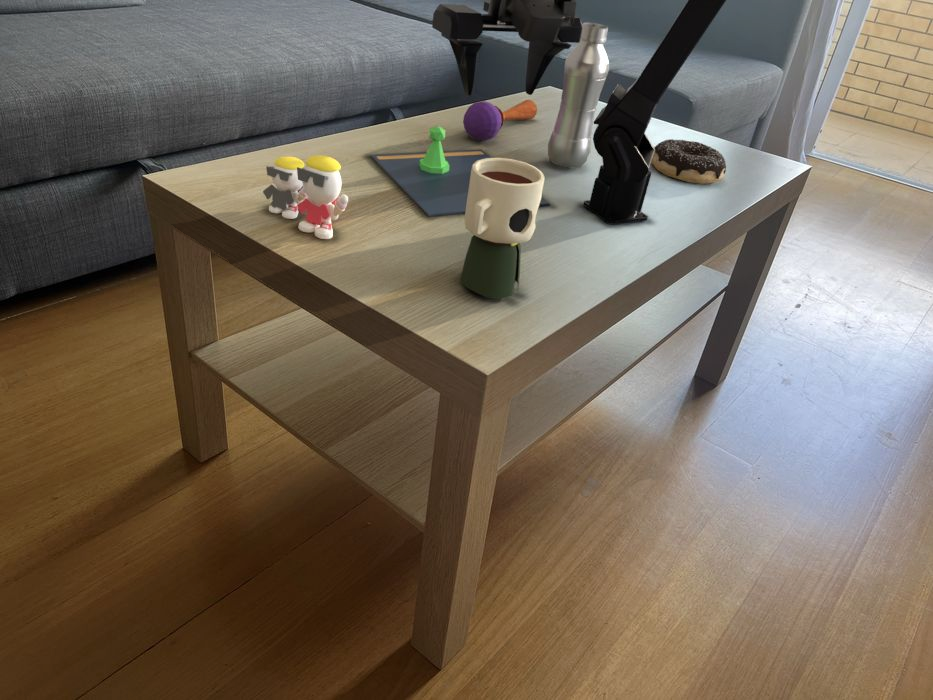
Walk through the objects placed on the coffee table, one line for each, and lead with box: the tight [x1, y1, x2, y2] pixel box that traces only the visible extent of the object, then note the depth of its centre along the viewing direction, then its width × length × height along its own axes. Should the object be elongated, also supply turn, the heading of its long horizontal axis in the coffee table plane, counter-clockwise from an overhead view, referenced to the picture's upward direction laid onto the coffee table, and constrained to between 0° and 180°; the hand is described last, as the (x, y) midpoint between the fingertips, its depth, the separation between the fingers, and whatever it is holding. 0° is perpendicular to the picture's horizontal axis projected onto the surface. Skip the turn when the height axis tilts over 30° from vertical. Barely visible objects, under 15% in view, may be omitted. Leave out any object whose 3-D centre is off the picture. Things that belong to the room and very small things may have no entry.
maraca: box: [462, 99, 538, 142], centre depth 119 cm, size 6×6×20 cm
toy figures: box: [262, 154, 349, 240], centre depth 81 cm, size 12×4×8 cm, turn 49°
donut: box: [651, 138, 727, 185], centre depth 114 cm, size 11×12×4 cm
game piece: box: [419, 125, 449, 174], centre depth 100 cm, size 4×4×6 cm
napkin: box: [370, 149, 551, 217], centre depth 100 cm, size 18×20×1 cm
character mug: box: [459, 157, 546, 299], centre depth 73 cm, size 11×7×13 cm, turn 149°
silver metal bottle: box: [547, 22, 610, 169], centre depth 105 cm, size 6×7×20 cm
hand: (498, 94), depth 94 cm, fingers open, 9 cm apart
